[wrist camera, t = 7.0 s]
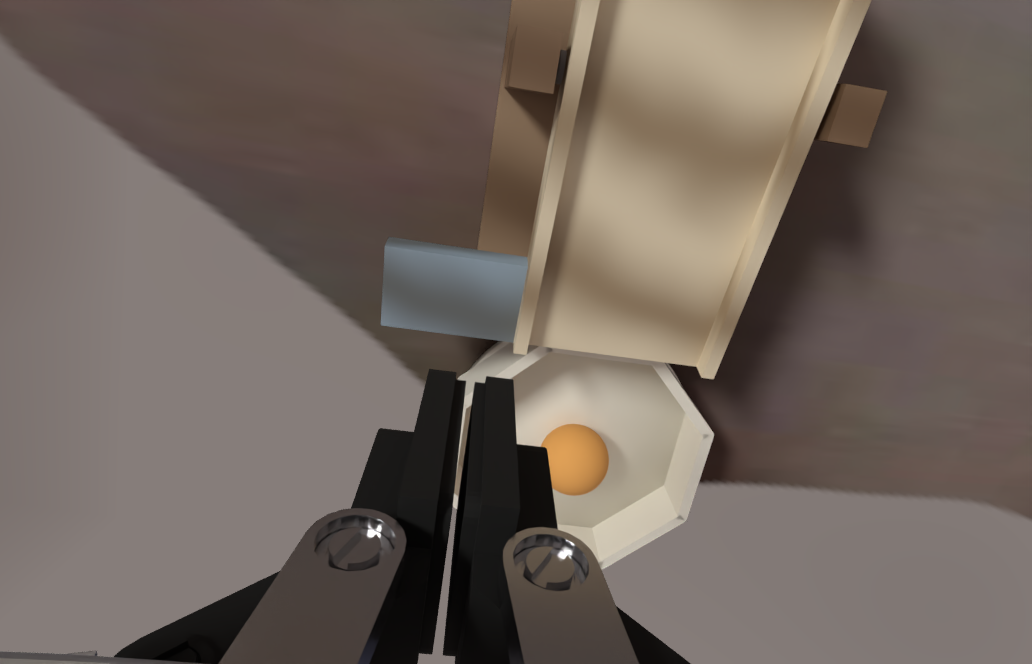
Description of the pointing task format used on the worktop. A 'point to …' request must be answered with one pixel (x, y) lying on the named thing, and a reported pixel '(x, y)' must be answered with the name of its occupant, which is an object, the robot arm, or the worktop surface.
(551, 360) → the octagonal cream dish
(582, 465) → the ball
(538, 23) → the lever stand
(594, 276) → the lever
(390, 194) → the worktop surface
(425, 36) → the worktop surface
